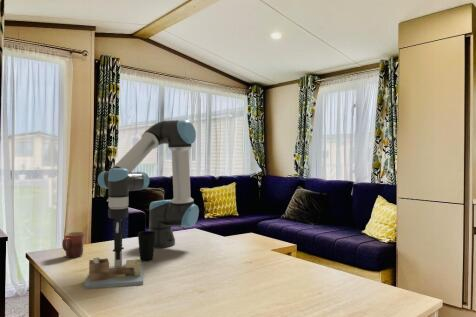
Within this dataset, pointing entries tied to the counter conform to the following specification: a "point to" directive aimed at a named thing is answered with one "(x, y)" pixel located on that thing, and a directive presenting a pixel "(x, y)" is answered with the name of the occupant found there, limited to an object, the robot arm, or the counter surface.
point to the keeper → (132, 264)
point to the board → (116, 280)
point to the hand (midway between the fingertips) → (118, 266)
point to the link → (106, 270)
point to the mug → (73, 244)
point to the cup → (146, 245)
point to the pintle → (96, 260)
